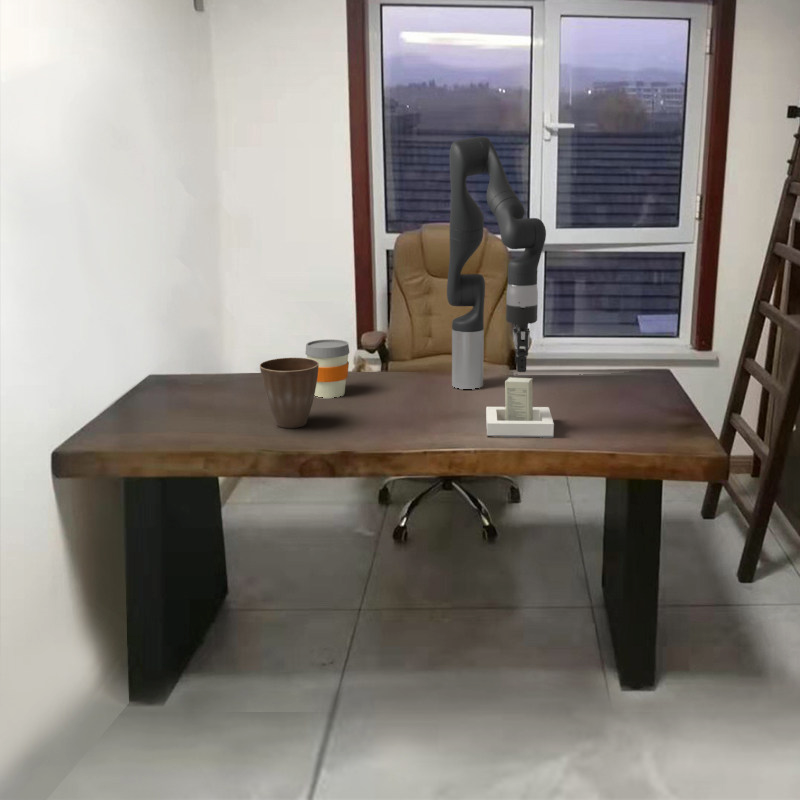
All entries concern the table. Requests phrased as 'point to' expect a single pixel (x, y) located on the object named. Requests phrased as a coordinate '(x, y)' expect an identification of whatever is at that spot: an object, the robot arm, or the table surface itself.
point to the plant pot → (290, 389)
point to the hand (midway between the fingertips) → (520, 367)
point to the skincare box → (519, 399)
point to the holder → (519, 424)
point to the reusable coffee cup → (330, 366)
